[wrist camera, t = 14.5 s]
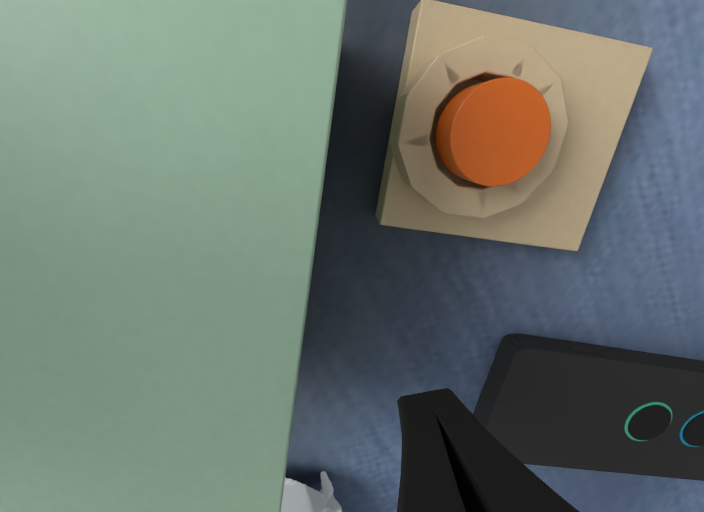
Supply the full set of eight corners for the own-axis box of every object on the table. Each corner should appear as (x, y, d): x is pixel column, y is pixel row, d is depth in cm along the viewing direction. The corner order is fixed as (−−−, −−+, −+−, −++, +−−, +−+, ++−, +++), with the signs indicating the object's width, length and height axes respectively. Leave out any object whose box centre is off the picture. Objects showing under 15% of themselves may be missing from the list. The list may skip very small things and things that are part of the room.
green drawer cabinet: (30, 10, 14) (-460, -186, 5) (333, 67, 16) (349, -13, 7) (65, 331, 19) (-167, 516, 10) (297, 352, 21) (278, 529, 11)
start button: (426, 173, 15) (439, 179, 13) (447, 75, 13) (465, 67, 12) (509, 186, 15) (533, 193, 13) (537, 92, 14) (566, 87, 12)
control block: (369, 216, 18) (380, 235, 15) (405, 9, 15) (429, -23, 12) (557, 242, 19) (604, 265, 16) (622, 55, 17) (697, 37, 13)
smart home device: (746, 488, 25) (473, 462, 22) (720, 466, 26) (462, 439, 24) (820, 389, 22) (520, 346, 19) (786, 371, 24) (505, 328, 21)
